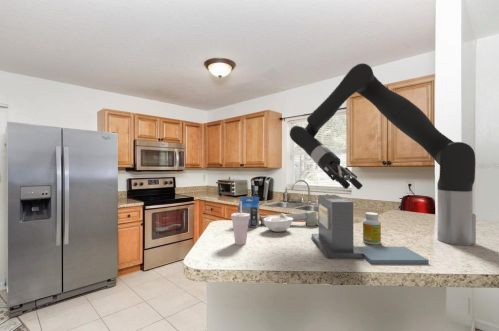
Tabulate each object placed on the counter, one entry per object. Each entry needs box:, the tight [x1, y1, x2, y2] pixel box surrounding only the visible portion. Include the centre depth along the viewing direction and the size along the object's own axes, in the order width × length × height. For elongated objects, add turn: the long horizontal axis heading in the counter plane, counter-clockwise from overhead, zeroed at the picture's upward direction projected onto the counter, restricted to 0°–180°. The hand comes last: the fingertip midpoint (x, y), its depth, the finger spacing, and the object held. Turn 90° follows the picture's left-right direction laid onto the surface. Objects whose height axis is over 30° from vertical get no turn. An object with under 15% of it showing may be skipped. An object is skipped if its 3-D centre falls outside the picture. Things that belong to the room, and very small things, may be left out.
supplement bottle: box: [362, 211, 382, 246], centre depth 86 cm, size 5×5×10 cm
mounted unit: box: [311, 194, 364, 260], centre depth 81 cm, size 10×20×16 cm, turn 179°
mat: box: [354, 245, 430, 265], centre depth 73 cm, size 15×11×1 cm
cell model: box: [264, 212, 294, 233], centre depth 102 cm, size 10×12×7 cm
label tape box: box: [237, 196, 260, 228], centre depth 110 cm, size 9×4×12 cm, turn 76°
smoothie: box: [230, 200, 250, 246], centre depth 86 cm, size 6×6×14 cm
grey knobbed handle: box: [259, 210, 319, 227], centre depth 112 cm, size 5×7×25 cm
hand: (354, 187), depth 90 cm, fingers open, 8 cm apart
